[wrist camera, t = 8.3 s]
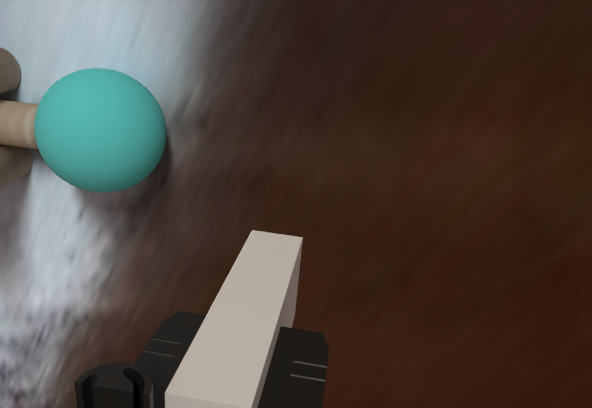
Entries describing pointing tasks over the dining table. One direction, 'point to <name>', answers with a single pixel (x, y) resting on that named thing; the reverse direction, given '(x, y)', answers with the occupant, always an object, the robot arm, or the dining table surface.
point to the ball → (100, 130)
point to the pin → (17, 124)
